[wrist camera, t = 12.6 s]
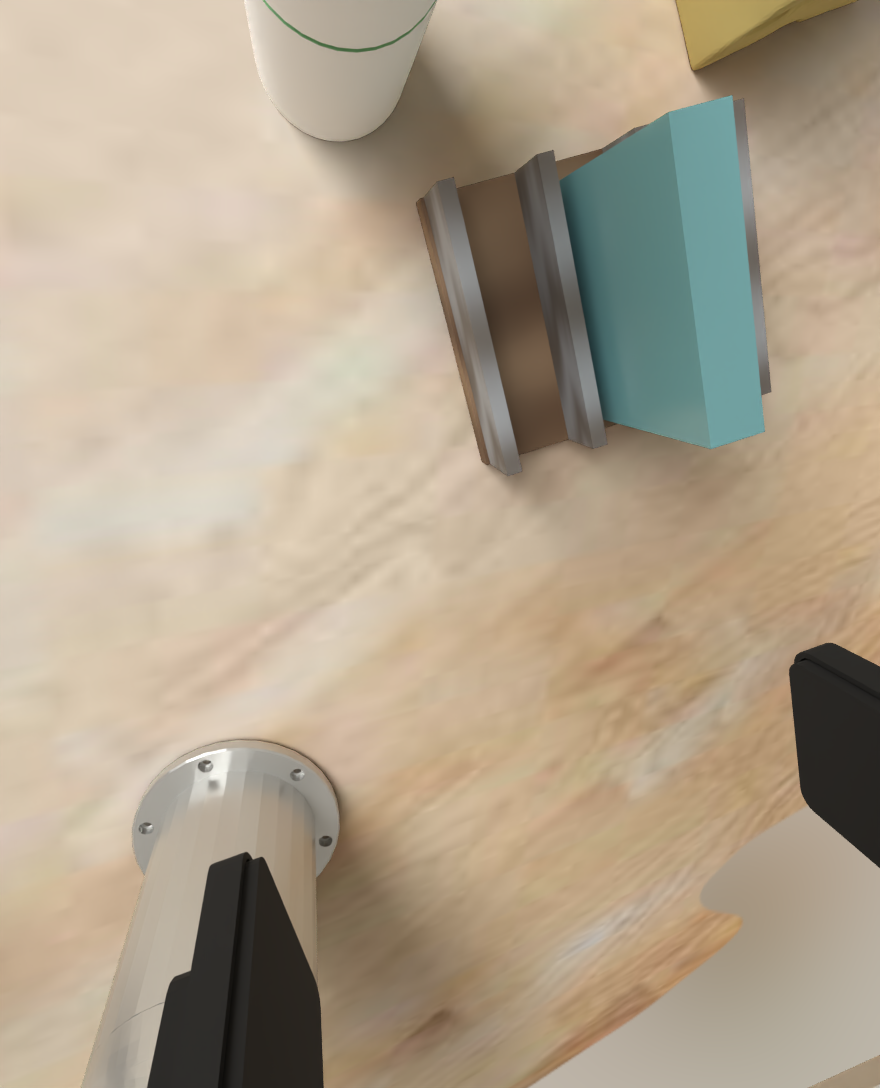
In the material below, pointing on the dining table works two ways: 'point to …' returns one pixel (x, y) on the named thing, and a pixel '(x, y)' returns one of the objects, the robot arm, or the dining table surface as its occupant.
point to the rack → (533, 303)
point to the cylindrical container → (336, 59)
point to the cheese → (739, 23)
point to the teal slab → (669, 279)
